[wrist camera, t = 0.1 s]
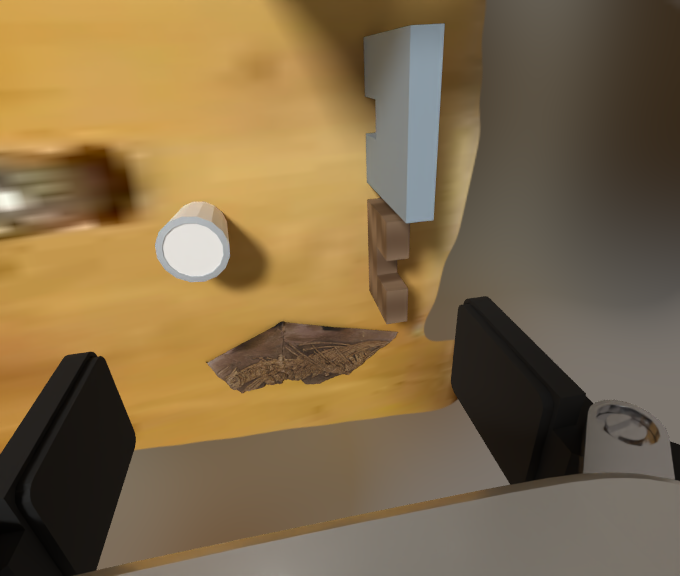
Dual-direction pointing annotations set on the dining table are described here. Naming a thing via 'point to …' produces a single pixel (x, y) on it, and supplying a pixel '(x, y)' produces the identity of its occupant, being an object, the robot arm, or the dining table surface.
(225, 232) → the white topped beige cylinder
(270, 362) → the wooden fragment
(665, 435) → the robot arm
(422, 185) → the blue-grey notched panel
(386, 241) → the wood grain block
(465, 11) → the dining table surface
